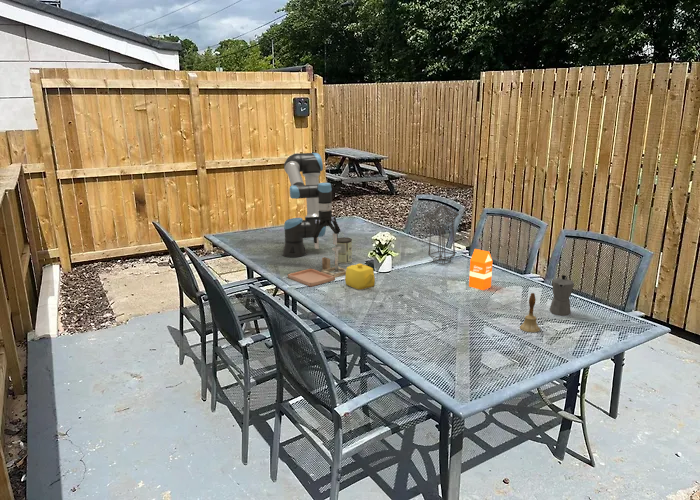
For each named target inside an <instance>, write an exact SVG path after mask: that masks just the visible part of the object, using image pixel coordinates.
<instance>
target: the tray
mask: <svg viewBox="0 0 700 500" xmlns="http://www.w3.org/2000/svg"><path fill="white" fill-rule="evenodd" d="M287 278H288V279H290V280H292V281H295V282H297V283H300V284H302V285H304V286H307V285H308V287H310V288H311V287H312V288H313V287H315V286H319V285H323V284H327V283H330V282H333V281H335V280H336V277H334V276H331V275H328V274H326V273H323V272H321V270H320V271H319V270H317V269H314V268H312V267H311V268H307V269H303V270H298V271H296V272H295V271H294V272H291V273H287Z"/></svg>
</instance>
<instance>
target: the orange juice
mask: <svg viewBox="0 0 700 500" xmlns="http://www.w3.org/2000/svg"><path fill="white" fill-rule="evenodd" d="M469 263H470V264H469V279H468V281H469V282H468V287H470V288H473V289H477V290H481V291H485V290H488V289H489V288H491V287H492V278H493V277H492V276H493V259H492V256H491V253H490V251H487V250H482V249H478V248H474V250H473V253H472V255H471V257H470V260H469Z"/></svg>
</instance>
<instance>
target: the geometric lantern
mask: <svg viewBox="0 0 700 500" xmlns="http://www.w3.org/2000/svg"><path fill="white" fill-rule="evenodd" d="M439 213H441V217H439V216H438V215H439ZM459 215H460V214H459V213H457V212H456V211H454V210H452V209H450V208H449V207H447V206H444V205H440V206H438V207H436V208H435V209H433V210H432V211H430V212H429V211H428V212H427V213H426V214H425V217H426V218H427V219H428V220H429V221H431V223H430V226H429V242H428V244H429V245H428V253H427V255H428V256H429V257H430V258H432V261H433V263H434V264H435V263H436V264H440V265H445V264H446V265H447V264H449V263H451V262H452V259H453V258H454V257H455V256H456V249H455V248H456V247H455V246H456V245H455V234H454V230H455V229H454V220H455V219H456V218H457V217H458V216H459ZM442 219H444V223H443V224H440V223H439V221H440V220H442ZM433 223H436V225H433ZM448 223H451V226H450V225H448ZM432 225H433V226H432ZM447 226H448V227H450V228H446V227H447ZM436 227H438V228H436ZM441 227H442V228H441ZM432 230H438V242H439V243H437V244H438V248H437V251H435V252H432V253H431V238H432V237H431V235H432ZM446 230H452V232H451V233H452V245H453V246H452V247H453V250H452V251H453V252H449V251H446V242H445V231H446ZM437 253H438V256H434V255H435V254H437ZM446 254H450V255H448V256H446ZM443 255H444V256H443ZM437 261H440V262H437ZM441 262H442V263H441Z"/></svg>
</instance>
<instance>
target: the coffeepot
mask: <svg viewBox="0 0 700 500" xmlns="http://www.w3.org/2000/svg"><path fill="white" fill-rule="evenodd" d="M551 281H552V282H551V284H552V294H553V297H552V300H551V303H550V308H549V312H550V313H551V314H553V315H555V316H561V317H566V316H570V315H571V314H572V313H571V312H572V311H571V301H570V297H571V296H572V293H573V292H572V291H573V289H574V286H575V282H574V281H573V280H571V279H568V276H566V275H565V274H562V275H561V278H554V279H552V280H551Z"/></svg>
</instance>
